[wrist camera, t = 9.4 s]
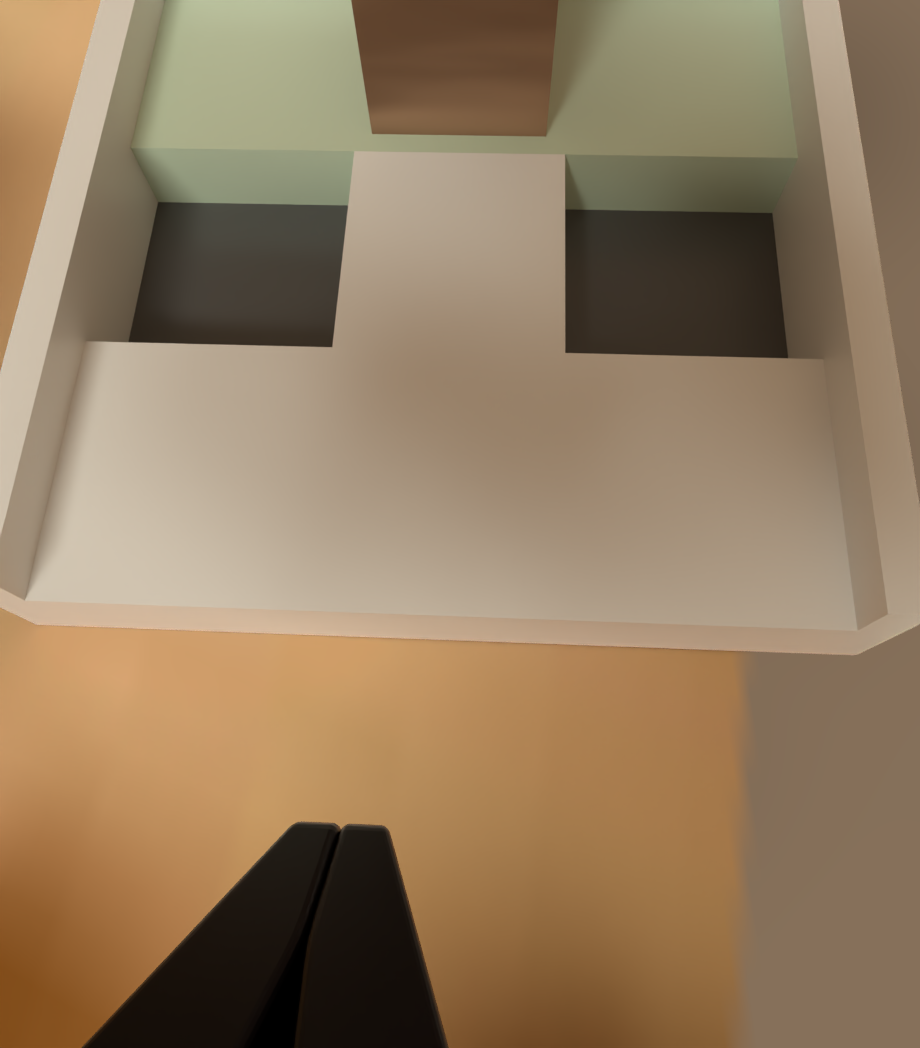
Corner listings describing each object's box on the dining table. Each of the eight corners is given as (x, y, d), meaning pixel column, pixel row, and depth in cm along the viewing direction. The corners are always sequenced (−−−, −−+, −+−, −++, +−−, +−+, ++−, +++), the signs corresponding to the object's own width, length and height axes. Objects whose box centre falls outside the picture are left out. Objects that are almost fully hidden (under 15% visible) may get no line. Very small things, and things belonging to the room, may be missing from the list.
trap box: (856, 655, 21) (937, 615, 17) (36, 624, 22) (-57, 580, 18) (780, 41, 28) (825, -80, 25) (169, 35, 29) (123, -84, 25)
